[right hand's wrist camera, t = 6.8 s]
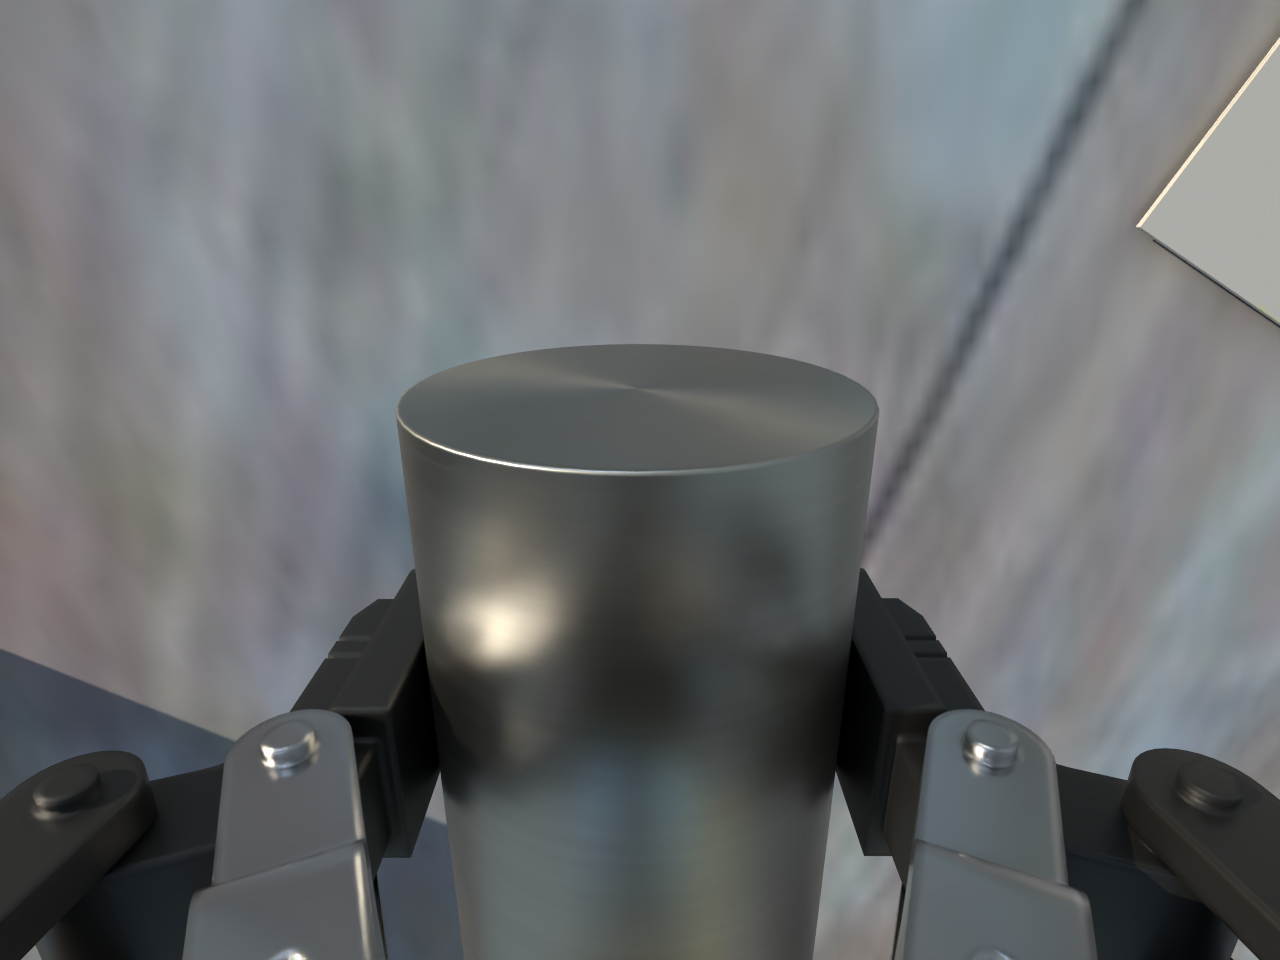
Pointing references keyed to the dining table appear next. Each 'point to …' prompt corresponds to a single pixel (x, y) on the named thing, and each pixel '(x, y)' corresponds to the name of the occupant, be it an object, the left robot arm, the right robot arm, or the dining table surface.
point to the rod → (637, 641)
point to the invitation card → (1231, 196)
